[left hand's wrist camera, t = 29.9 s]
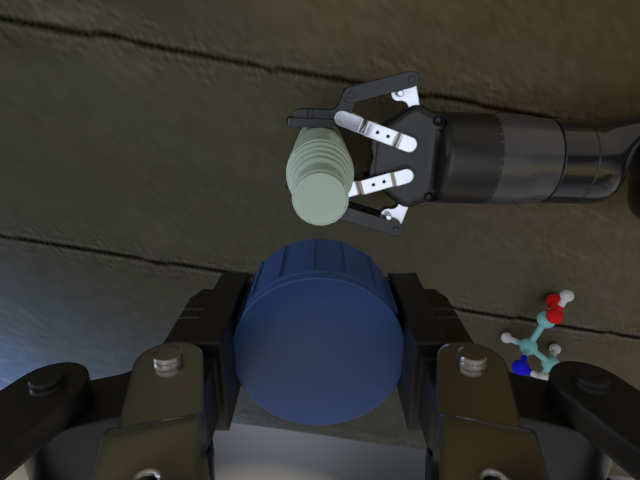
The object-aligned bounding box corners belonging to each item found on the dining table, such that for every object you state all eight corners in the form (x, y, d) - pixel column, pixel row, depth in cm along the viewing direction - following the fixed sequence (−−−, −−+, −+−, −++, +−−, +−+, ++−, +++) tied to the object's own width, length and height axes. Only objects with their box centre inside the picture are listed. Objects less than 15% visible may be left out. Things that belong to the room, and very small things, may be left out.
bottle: (308, 172, 43) (298, 253, 23) (289, 131, 42) (261, 177, 21) (349, 154, 43) (376, 221, 22) (331, 112, 41) (343, 141, 21)
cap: (418, 315, 12) (441, 370, 10) (307, 385, 13) (304, 452, 11) (332, 207, 11) (336, 240, 9) (217, 292, 12) (192, 343, 10)
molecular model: (618, 362, 47) (616, 417, 39) (530, 371, 53) (512, 420, 45) (577, 267, 46) (566, 304, 39) (493, 287, 52) (468, 323, 45)
